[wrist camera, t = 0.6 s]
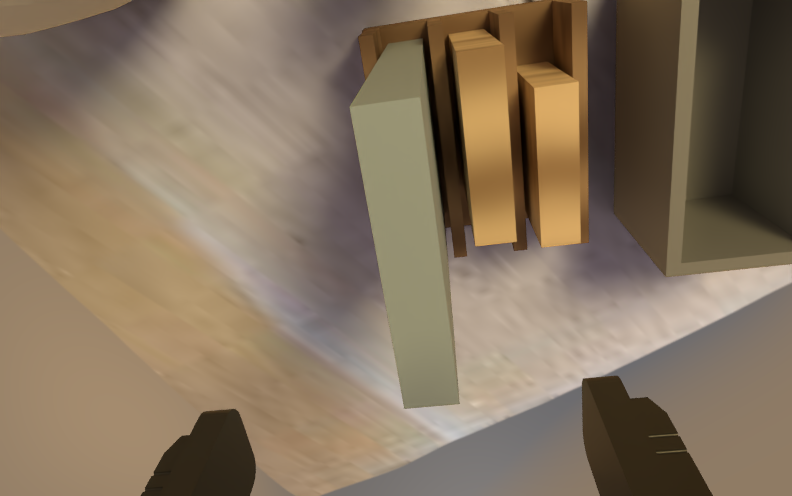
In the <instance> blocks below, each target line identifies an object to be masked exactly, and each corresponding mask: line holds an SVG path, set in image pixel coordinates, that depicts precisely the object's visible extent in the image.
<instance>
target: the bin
mask: <svg viewBox="0 0 792 496" xmlns="http://www.w3.org/2000/svg"><path fill="white" fill-rule="evenodd" d="M614 214H615V215H616V217H617V218H618V219H619V220H620V222H621V223H622V224H623V225H624V226H625V228H626V229H627V230H628V231H629V233H630V234H631V235H632V236H633V237H634V239H635V240H636V241H637V242H638V244H639V245H640V246H641V247H642V248H643V250H644V251H645V252H646V253H647V255H648V256H649V257H650V258H651V260H652V261H653V262H654V263H655V264H656V266H657V267H658V268H659V269H660V271H661V272H662V273H663V274H664V275H665V277H672V276H682V275H691V274H701V273H710V272H720V271H729V270H739V269H748V268H758V267H768V266H777V265H787V264H792V0H617V18H616V91H615V164H614Z"/></svg>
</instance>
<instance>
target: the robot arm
mask: <svg viewBox="0 0 792 496" xmlns="http://www.w3.org/2000/svg"><path fill="white" fill-rule="evenodd" d="M582 410H583V411H582V417H583V439H584V445H585V450H586V454H587V458H588V461H589V464H590V467H591V470H592V473H593V476H594V479H595V482H596V485H597V488H598V491H599V494H600V496H713V495H712V493H711V492H710V490H709V488H708V486H707V484H706V483H705V481H704V479H703V477H702V475H701V474H700V472H699V470H698V468H697V466H696V465H695V463H694V461H693V459H692V458H691V456H690V454H689V453H687V449H686V447H685V445H684V443H683V441H682V440H681V438H680V436H678V432H677V431H676V429H675V427H674V425H673V424H672V422H671V420H670V418H669V416H668V414H667V413H666V412H665V411H664V410H662V409H661V408H660V407H659V406H658V405H656V404H655V403H654V402H653V401H651V400H650V399H649V398H648V397H645V398H632V399H630V398H629V396H628V393H627V391H626V389H625V387H624V385H623V383H622V381H621V379H620V378H619V377H618V376H607V377H596V378H585V379H583V381H582ZM255 473H256V465H255V458H254V454H253V451H252V448H251V445H250V443H249V440H248V437H247V434H246V431H245V428H244V425H243V422H242V419H241V417H240V414H239V412H238V411H237V410H236V409H228V410H217V411H206V412H203V413H202V414H201V415H200V417H199V419H198V420H197V422H196V424H195V426H194V428H193V430H192V432H191V434H190V435H186V436H181V437H180V438H179V439H178V440H177V441H176V442H175V443H174V444H173V445H172V446H171V447H170V448H169V449H168V450H167V451H166V452H165V453H164V455H163V456H162V458H161V460H160V462H159V464H158V465H157V467H156V469H155V471H154V476H151V478H150V480H149V482H148V484H147V485H146V487H145V492H143V493H142V494H141V496H250V493H251V491H252V488H253V484H254V480H255Z"/></svg>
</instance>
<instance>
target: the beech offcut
mask: <svg viewBox="0 0 792 496" xmlns="http://www.w3.org/2000/svg"><path fill="white" fill-rule="evenodd" d="M517 80H518V97H519V115H520V132H521V150H522V167H523V184H524V202H525V211H526V213H527V216H528V218H529V220H530V222H531V225H532V227H533V229H534V232H535V234H536V236H537V238H538V241H539V243H540V245H541V248H542V247H551V246H560V245H569V244H578V243H581V224H580V148H579V82H578V81H577V80H575V79H574V78H572V77H571V76H569V75H567V74H566V73H564V72H563V71H561V70H560V69H558V68H557V67H555V66H554V65H552V64H550V63H549V62H541V63H534V64H527V65H521V66H517Z"/></svg>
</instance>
